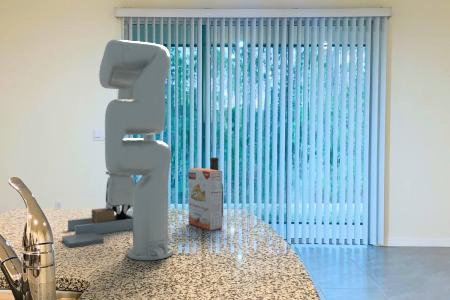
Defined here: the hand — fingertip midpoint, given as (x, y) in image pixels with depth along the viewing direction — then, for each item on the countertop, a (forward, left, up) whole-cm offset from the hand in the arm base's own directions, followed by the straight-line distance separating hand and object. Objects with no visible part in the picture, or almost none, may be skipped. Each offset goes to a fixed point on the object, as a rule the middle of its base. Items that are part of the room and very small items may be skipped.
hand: (120, 223), depth 140 cm
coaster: (-12, +17, -1) cm, 20 cm away
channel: (0, +5, -1) cm, 5 cm away
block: (0, +7, -1) cm, 7 cm away
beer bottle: (-1, -39, -1) cm, 40 cm away
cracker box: (-16, -25, -1) cm, 30 cm away
